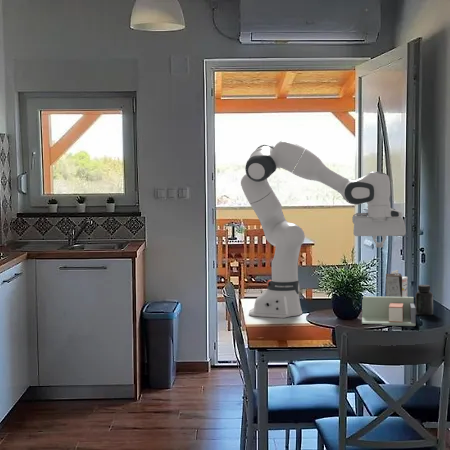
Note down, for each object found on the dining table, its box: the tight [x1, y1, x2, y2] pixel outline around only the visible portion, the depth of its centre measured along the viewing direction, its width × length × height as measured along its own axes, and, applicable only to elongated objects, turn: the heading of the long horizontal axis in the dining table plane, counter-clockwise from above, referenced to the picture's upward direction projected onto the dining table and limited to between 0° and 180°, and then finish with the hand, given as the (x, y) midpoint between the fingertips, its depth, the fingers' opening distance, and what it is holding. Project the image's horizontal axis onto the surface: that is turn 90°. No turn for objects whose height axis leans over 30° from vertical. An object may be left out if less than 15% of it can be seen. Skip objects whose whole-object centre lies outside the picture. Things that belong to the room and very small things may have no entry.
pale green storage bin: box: [361, 295, 417, 327], centre depth 267 cm, size 20×12×9 cm, turn 78°
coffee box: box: [385, 272, 403, 297], centre depth 284 cm, size 9×6×16 cm
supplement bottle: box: [415, 284, 434, 317], centre depth 279 cm, size 7×7×12 cm
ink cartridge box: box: [390, 269, 409, 297], centre depth 303 cm, size 9×5×15 cm, turn 144°
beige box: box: [389, 303, 404, 322], centre depth 266 cm, size 5×8×6 cm, turn 162°
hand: (379, 247), depth 270 cm, fingers closed
